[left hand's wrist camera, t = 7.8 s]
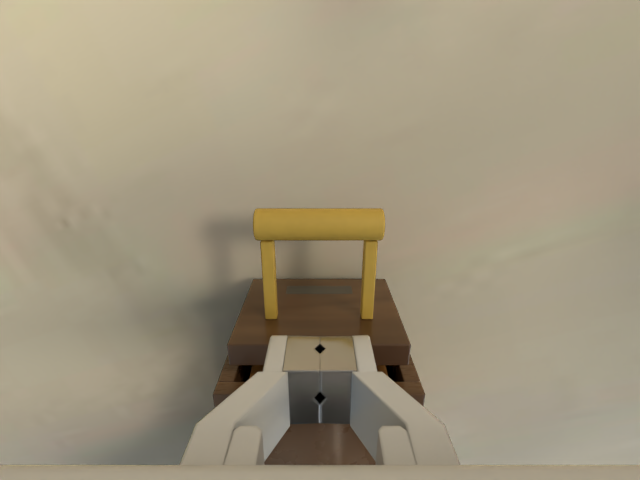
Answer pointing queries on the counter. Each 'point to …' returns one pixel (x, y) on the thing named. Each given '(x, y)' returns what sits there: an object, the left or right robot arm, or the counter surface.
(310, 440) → the wooden drawer cabinet
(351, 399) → the left robot arm
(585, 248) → the counter surface
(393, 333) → the drawer
